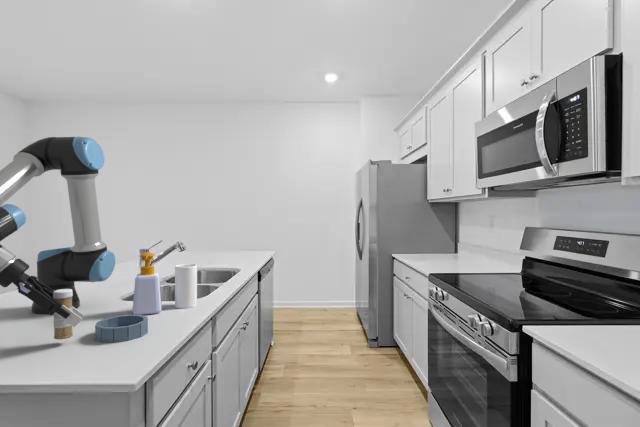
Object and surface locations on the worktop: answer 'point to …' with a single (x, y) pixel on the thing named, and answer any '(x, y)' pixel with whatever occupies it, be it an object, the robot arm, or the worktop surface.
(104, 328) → the bowl
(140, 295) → the soap bottle
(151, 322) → the worktop surface
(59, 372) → the worktop surface
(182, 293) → the cup
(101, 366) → the worktop surface
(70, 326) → the sprinkles bottle
